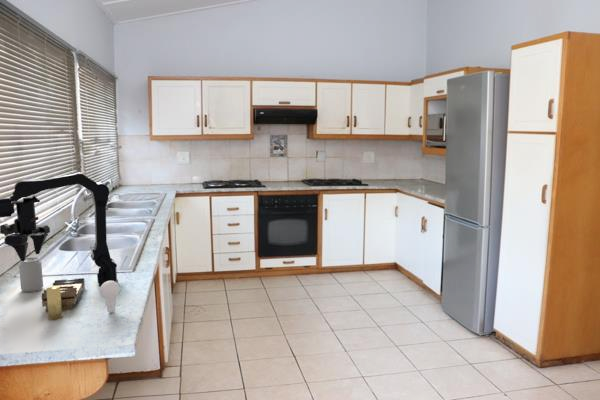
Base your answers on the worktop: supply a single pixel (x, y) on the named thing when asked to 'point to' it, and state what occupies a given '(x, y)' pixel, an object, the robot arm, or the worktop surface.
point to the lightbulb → (110, 294)
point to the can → (31, 274)
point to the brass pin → (54, 303)
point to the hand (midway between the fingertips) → (30, 257)
